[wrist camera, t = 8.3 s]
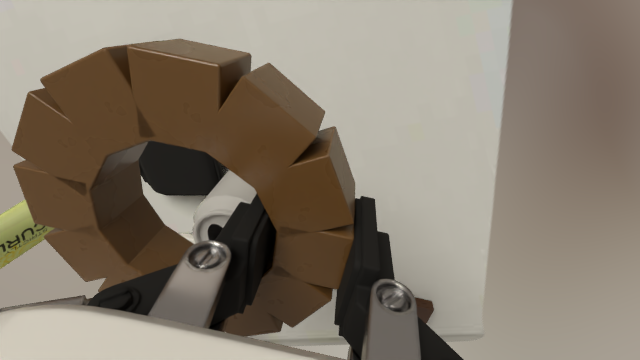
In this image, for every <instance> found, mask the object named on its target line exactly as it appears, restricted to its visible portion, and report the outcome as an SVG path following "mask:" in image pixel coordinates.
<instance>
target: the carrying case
mask: <svg viewBox="0 0 640 360" xmlns="http://www.w3.org/2000/svg"><path fill="white" fill-rule="evenodd" d="M138 160H139V168H140V175H141V176H142V177H143V179H144V181H145V182H148V184H149V185H150V186H151V187H152V189H153V190H154V191H156V192H157V193H160V194H164V195H208V194H209V193H210V192H211V191H212V190H213V188H214V187H215V186H216V185H217V184H218V183H219V181H220V180H221V179H222V178H223V177H224V174H223V169H222V166H221V163H220V162H218V161H217V160H215V159H214V158H213V157H211V156H210V155H209V154H207V153H206V152H202V151H197V150H192V149H187V148H183V147H178V146H173V145H169V144H164V143H159V142H155V141H150V142H148V143H147V145H146V147H145V149H144V151H143V152H142V154H141V156H140V158H139V159H138Z"/></svg>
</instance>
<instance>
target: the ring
mask: <svg viewBox="0 0 640 360" xmlns="http://www.w3.org/2000/svg"><path fill="white" fill-rule="evenodd" d="M40 81H41V83H42V84H43V85H44V87H45V88H43V89H39V90H34V91H30V92H28V94H27V97H26V101H25V104H24V108H23V111H22V115H21V118H20V122H19V125H18V129H17V132H16V136H15V139H14V143H13V146H12V151H13V152H15V153H16V154H18V155H20V156H21V157H23V158H24V159H26V160H24V161H22V162H20V163H18V164H15V165H14V166H13V168H14V170H15V173H16V176H17V178H18V181H19V184H20V186H21V189H22V192H23V194H24V197H25V200H26V202H27V205H28V208H29V211H30V213H31V216H32V219H33V221H34V223H35V224H38V225H43V226H48V227H52V228H54V229H53V230H52V231H50V232H49V233H47V234H46V235H45V236H44V238H45V239H46V240H47V242H48V243H49V244H50V245H51V246H52V247H53V248H54V249H55V250H56V251H57V252H58V253H59V254H60V255H61V256H62V257H63V259H64V260H65V261H66V262H67V263H68V264H69V265H70V266H71V267H72V268H73V269H74V270H75V271H76V272H77V273H78V274H79V276H80V277H81V278H82V279H83V280H84V281H85V282H88V281H93V280H98V279H102V278H106V279H105V281H104V283H103V284H102V285H101V287H100V288H99V290H98V292H101V291H102V290H104V289H106V288H108V287H111V286H113V285H116V284H119V283H122V282H125V281H128V280H131V279H134V278H137V277H140V276H143V275H146V274H149V273H152V272H155V271H158V270H161V269H164V268H167V267H170V266H173V265H176V264H178V263H179V261H180V260H181V258H182V256H183V255H184V253H185V252H186V250H187V249H188V248H189V247H191V246H192V245H194V244H193V243H192V242H190V241H189V240H187V239H186V238H184V237H183V236H181V235H180V234H178V233H177V232H175V231H173V230H172V229H170V228H169V227H167V226H166V225H165V224H164V223H163V222H162V220H161V219H160V217H159V216H158V214H157V213H156V212H155V210H154V209H153V207H152V206H151V205H150V203H149V202H148V200H147V199H146V198H145V196H144V195H143V189H142V182H141V175H140V168H139V160H138V159H139V158H140V156H141V154H142V152H143V151H144V149H145V147H146V145H147V143H148V142H150V141H155V142H159V143H164V144H169V145H173V146H178V147H183V148H187V149H192V150H197V151H202V152H206V153H207V154H209V155H210V156H211V157H213V158H214V159H215V160H217V161H218V162H220V163H221V164H222V165H224V166H225V167H226V168H228V169H229V170H230V171H232V172H233V173H234V174H236V175H237V176H238V177H240V178H241V179H242V180H244V181H245V182H246V183H248V184H249V185H251V186H252V187H253V188H254V189H255V191H256V193H257V194H258V196H259V198H260V200H261V202H262V204H263V206H264V208H265V210H266V212H267V214H268V216H269V218H270V220H271V222H272V224H273V225H274V227H275V229H276V238H275V243H274V246H273V248H272V251H271V253H270V256H269V259H268V261H267V264H266V267H265V269H264V272H263V275H262V279H261V282H260V285H259V287H258V290H257V293H256V295H255V298H254V301H253V303H252V305H251V306H249V305H246V307H245V310H244V312H243V314H240V313H237V314H235V315H233V316H231V317H229V318H228V323H227V326H226V329H225V332H226V333H230V334H234V335H239V336H243V337H245V336H252V335H260V334H268V333H276V332H280V331H281V328H282V324H283V322H284V323H285V324H287V325H289V326H290V327H294V326H296V325H297V324H298V323H300V322H301V321H303V320H304V319H306V318H307V317H308V316H310V315H311V314H313V313H314V312H315V311H317V310H318V309H320V308H321V307H323V306H324V305H325V304H327V303H328V302H330V301H331V299H332V291H333V289H339V286H340V283H341V280H342V276H343V273H344V270H345V266H346V263H347V260H348V257H349V253H350V250H351V247H352V243H353V240H354V215H355V181H354V179H353V176H352V173H351V170H350V167H349V164H348V161H347V158H346V155H345V153H344V150H343V147H342V144H341V141H340V138H339V135H338V132H337V129H336V127H330V128H327V129H324V130H321V131H319V128H320V126H321V123H322V120H323V117H324V114H325V111H324V110H323V109H322V108H321V107H320V106H318V105H317V104H316V103H315V102H314V101H313V100H311V99H310V98H309V97H308V96H307V95H306V94H305V93H303V92H302V91H301V90H300V89H299V88H298V87H297V86H295V85H294V84H293V83H292V82H291V81H290V80H289V79H287V78H286V77H285V76H284V75H283V74H282V73H281V72H279V71H278V70H277V69H276V68H275V67H274V66H273V65H271V64H270V63H267V64H265V65H263V66H261V67H259V68H257V69H255V70H253V71H251V54H249V53H246V52H241V51H236V50H232V49H227V48H222V47H217V46H212V45H207V44H202V43H198V42H193V41H188V40H183V39H174V40H166V41H153V42H145V43H137V44H129V45H121V46H113V47H105V48H102V49H100V50H98V51H96V52H94V53H92V54H90V55H88V56H86V57H84V58H82V59H79V60H77V61H75V62H73V63H71V64H69V65H67V66H65V67H63V68H61V69H59V70H57V71H55V72H53V73H50V74H48V75H46V76H44V77H42V78H41V80H40Z"/></svg>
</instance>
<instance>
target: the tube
mask: <svg viewBox="0 0 640 360" xmlns="http://www.w3.org/2000/svg"><path fill="white" fill-rule="evenodd" d="M53 229H54V228H52V227H48V226H43V225H38V224H35V223H34V221H33V219H32V216H31V213H30V211H29V208H28V205H27V202H26V200H23V201H22V202H21V203H18V204H17V205H15V206H14V207H12V208H10V209H9V210H7V211H5V212H4V213H2V214H0V269H1V268H2V267H4V266H5V265H7V264H8V263H10V262H11V261H13V260H14V259H16V258H17V257H19V256H20V255H22V254H23V253H25V252H26V251H28V250H29V249H31V248H32V247H34V246H35V245H37V244H38V243H40V242H41V241H42V240H44V239H45V238H44V236H45V235H46V234H47V233H49V232H50V231H52V230H53Z"/></svg>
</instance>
